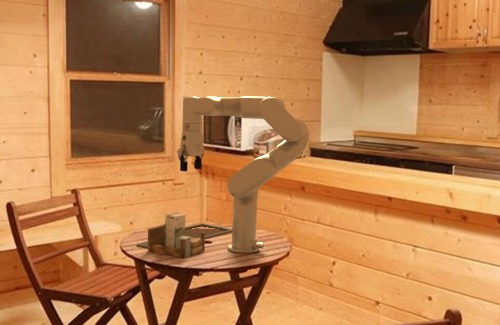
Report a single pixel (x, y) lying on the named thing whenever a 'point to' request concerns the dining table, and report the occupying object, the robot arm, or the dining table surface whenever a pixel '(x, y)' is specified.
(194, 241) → the offcut slab
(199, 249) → the offcut slab
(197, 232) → the brown framed board
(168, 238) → the syrup box
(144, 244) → the mat
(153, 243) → the brown wooden open box
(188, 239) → the offcut block
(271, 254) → the dining table surface
